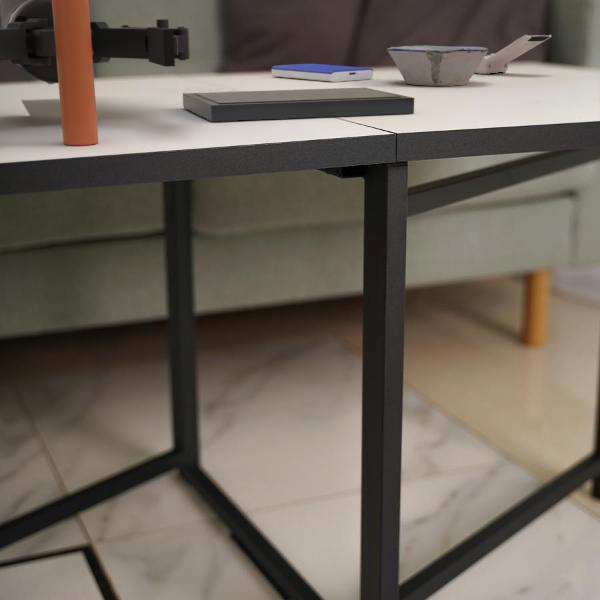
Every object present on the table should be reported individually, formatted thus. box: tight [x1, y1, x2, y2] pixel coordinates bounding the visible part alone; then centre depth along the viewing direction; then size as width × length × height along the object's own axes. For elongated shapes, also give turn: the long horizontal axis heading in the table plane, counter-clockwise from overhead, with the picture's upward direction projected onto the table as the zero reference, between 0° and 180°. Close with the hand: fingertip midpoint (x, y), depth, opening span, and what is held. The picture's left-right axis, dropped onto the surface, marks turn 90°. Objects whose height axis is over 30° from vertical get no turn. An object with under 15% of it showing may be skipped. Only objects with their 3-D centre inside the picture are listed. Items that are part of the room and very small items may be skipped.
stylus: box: [52, 0, 99, 146], centre depth 68 cm, size 3×3×12 cm
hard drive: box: [271, 63, 374, 83], centre depth 129 cm, size 2×8×12 cm
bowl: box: [386, 44, 490, 87], centre depth 120 cm, size 13×13×5 cm
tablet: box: [182, 87, 415, 123], centre depth 90 cm, size 20×12×2 cm, turn 109°
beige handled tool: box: [474, 34, 552, 75], centre depth 139 cm, size 6×6×25 cm
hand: (77, 49), depth 66 cm, fingers open, 13 cm apart
